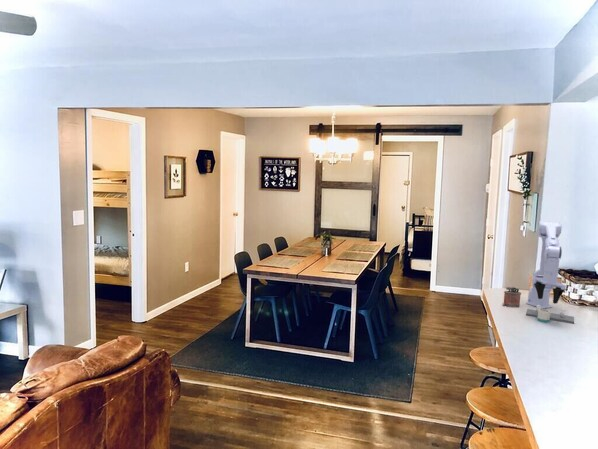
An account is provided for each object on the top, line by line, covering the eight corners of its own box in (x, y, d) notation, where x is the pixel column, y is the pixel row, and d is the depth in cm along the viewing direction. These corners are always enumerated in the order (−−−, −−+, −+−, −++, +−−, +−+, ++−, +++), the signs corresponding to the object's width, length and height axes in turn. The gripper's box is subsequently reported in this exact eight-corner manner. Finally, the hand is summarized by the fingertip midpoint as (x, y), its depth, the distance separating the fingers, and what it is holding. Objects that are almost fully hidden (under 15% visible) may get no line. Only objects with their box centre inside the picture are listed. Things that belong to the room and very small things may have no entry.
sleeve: (535, 319, 218) (536, 309, 217) (542, 318, 219) (543, 308, 219) (544, 322, 213) (545, 312, 213) (551, 321, 215) (552, 311, 214)
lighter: (518, 305, 239) (520, 286, 238) (520, 307, 236) (522, 288, 235) (501, 304, 240) (503, 285, 239) (504, 306, 237) (506, 287, 235)
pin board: (525, 315, 223) (526, 305, 223) (527, 310, 231) (528, 301, 230) (574, 323, 213) (575, 313, 213) (573, 318, 221) (575, 308, 221)
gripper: (530, 269, 218) (527, 297, 220) (559, 276, 205) (556, 306, 207) (541, 268, 221) (538, 296, 223) (570, 275, 208) (566, 304, 210)
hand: (547, 300), depth 215 cm, fingers open, 7 cm apart
